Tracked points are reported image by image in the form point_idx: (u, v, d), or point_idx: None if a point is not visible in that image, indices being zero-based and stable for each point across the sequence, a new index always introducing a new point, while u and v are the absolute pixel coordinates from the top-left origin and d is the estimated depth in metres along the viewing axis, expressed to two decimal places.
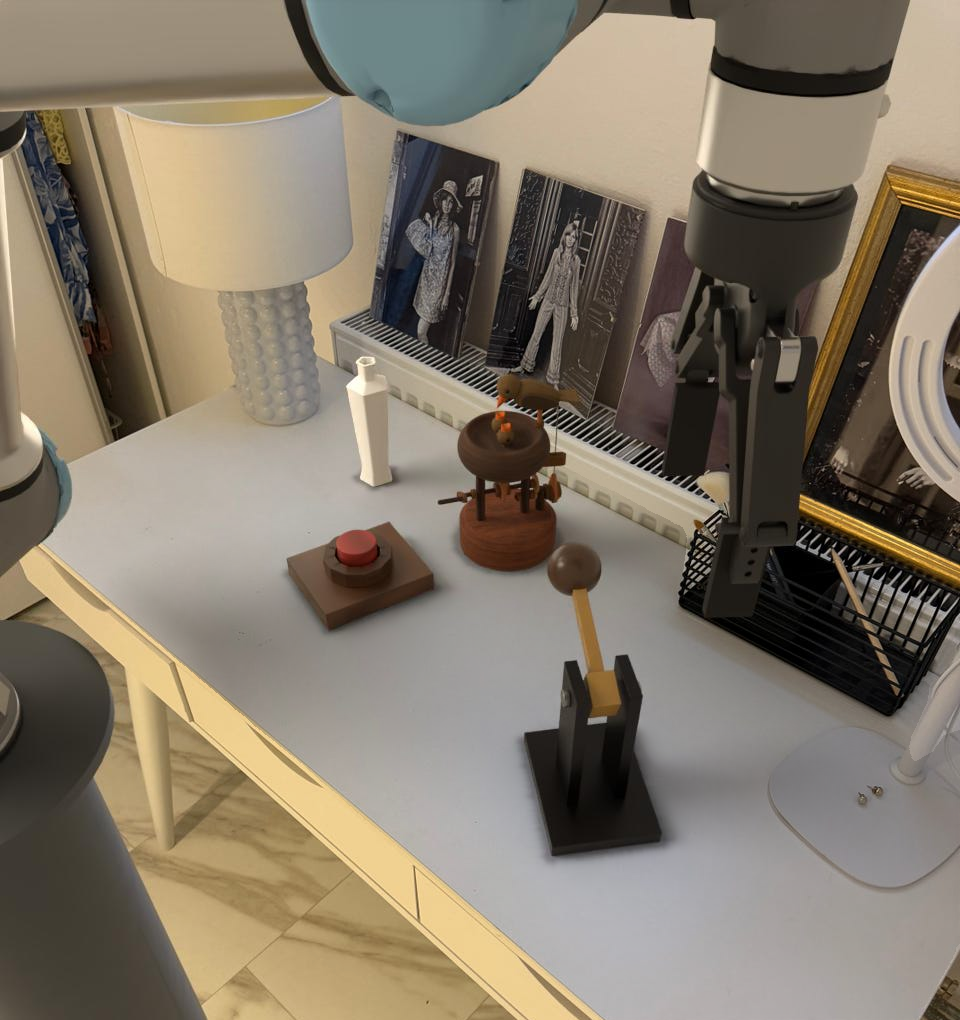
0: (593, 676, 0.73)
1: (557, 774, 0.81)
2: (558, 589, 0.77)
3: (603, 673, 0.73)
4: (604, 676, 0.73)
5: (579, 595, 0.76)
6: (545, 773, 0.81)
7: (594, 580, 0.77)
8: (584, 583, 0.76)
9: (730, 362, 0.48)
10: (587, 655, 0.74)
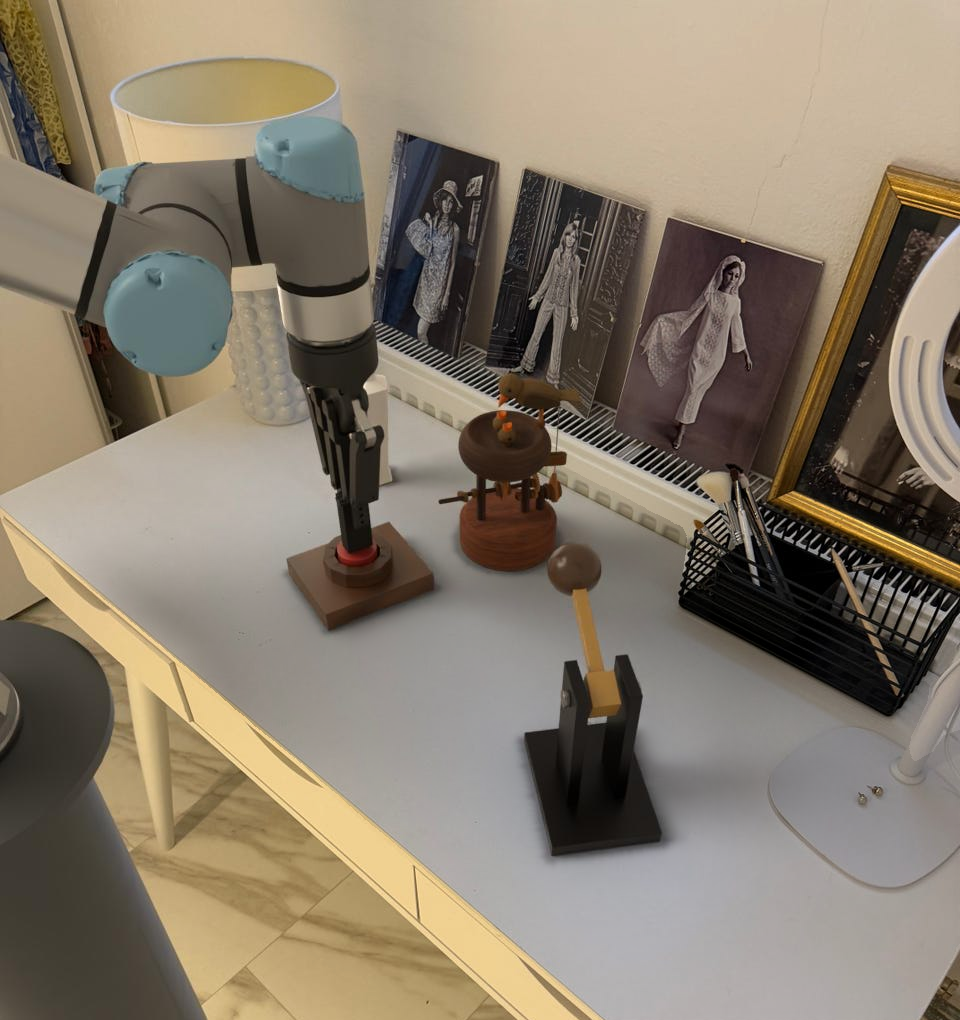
0: (593, 676, 0.73)
1: (557, 774, 0.81)
2: (558, 589, 0.77)
3: (603, 673, 0.73)
4: (604, 676, 0.73)
5: (579, 595, 0.76)
6: (545, 773, 0.81)
7: (594, 580, 0.77)
8: (584, 583, 0.76)
9: (335, 430, 0.85)
10: (587, 655, 0.74)
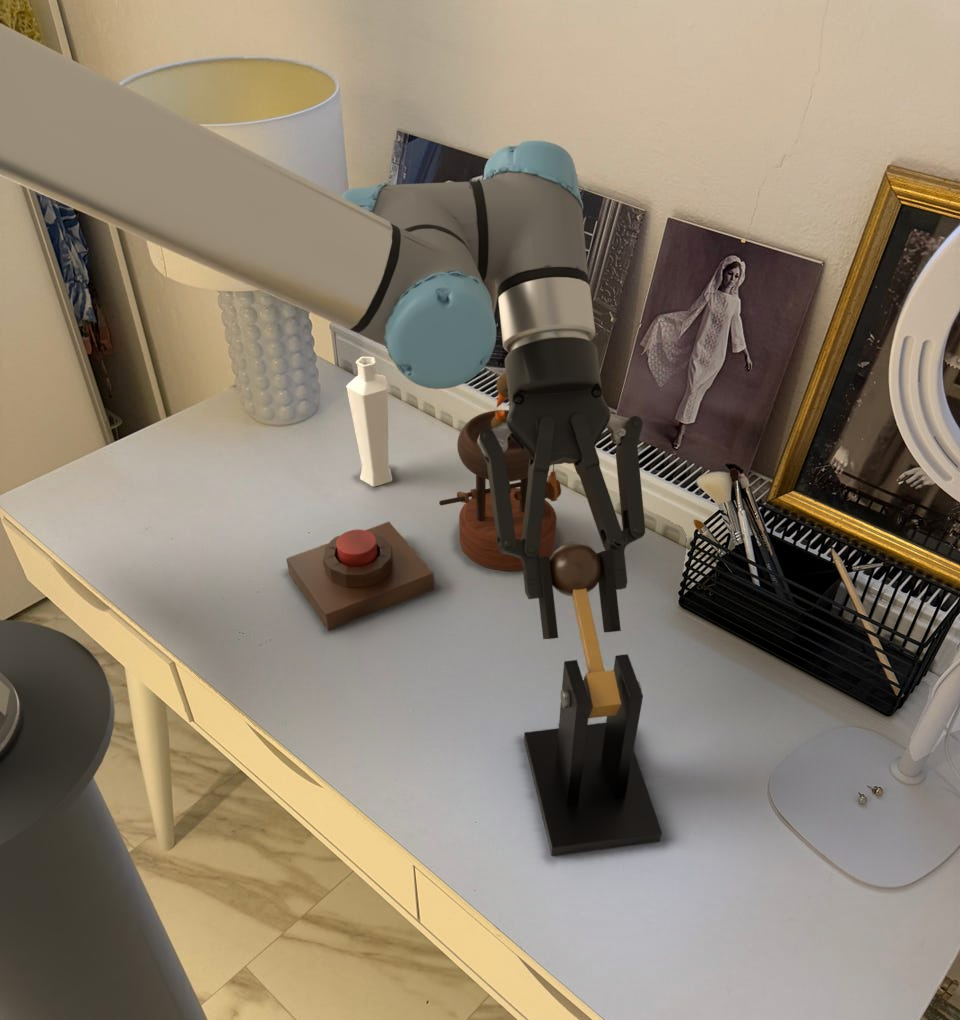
0: (593, 676, 0.73)
1: (557, 774, 0.81)
2: (558, 589, 0.77)
3: (603, 673, 0.73)
4: (604, 676, 0.73)
5: (579, 595, 0.76)
6: (545, 773, 0.81)
7: (594, 580, 0.77)
8: (584, 583, 0.76)
9: None
10: (587, 655, 0.74)
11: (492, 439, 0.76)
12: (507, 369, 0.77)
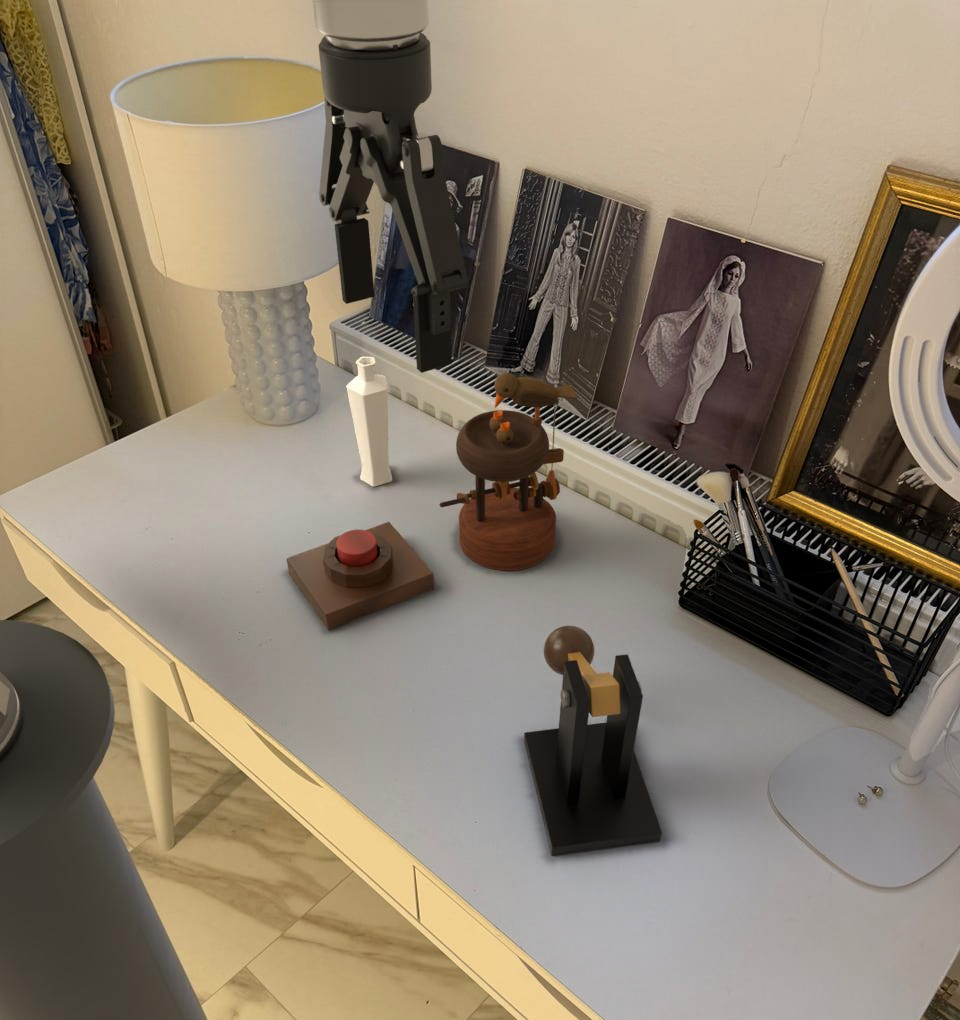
0: (589, 675, 0.74)
1: (557, 774, 0.81)
2: (555, 661, 0.82)
3: (599, 674, 0.74)
4: (600, 675, 0.74)
5: (574, 654, 0.81)
6: (545, 773, 0.81)
7: (587, 646, 0.82)
8: (577, 646, 0.82)
9: (383, 173, 0.67)
10: None
11: (329, 108, 0.72)
12: None
